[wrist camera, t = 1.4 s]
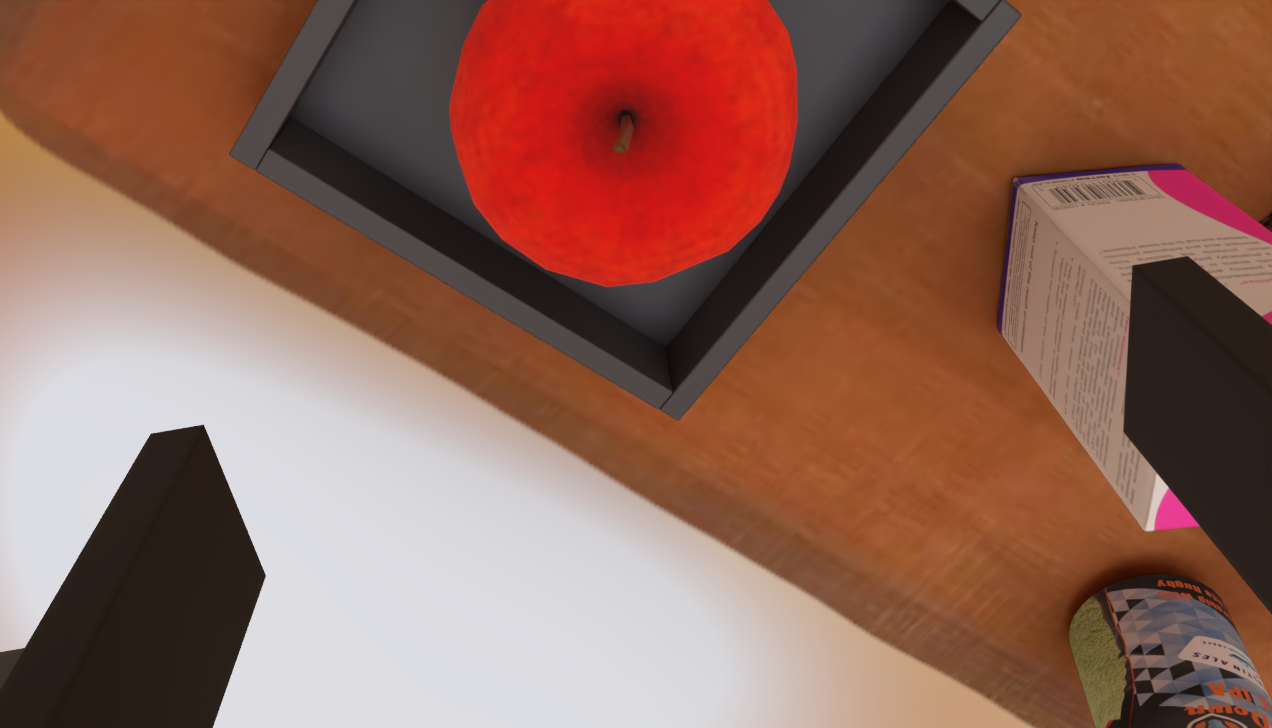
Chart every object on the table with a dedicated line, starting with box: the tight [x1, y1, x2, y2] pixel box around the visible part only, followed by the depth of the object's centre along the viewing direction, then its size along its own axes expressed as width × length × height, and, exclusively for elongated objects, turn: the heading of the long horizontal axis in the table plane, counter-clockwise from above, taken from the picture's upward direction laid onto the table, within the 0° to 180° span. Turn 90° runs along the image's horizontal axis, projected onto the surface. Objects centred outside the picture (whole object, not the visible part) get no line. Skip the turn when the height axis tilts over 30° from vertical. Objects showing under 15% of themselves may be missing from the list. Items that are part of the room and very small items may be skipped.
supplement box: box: [997, 164, 1272, 531], centre depth 33 cm, size 6×6×12 cm
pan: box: [229, 0, 1021, 420], centre depth 33 cm, size 16×16×4 cm
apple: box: [449, 0, 798, 287], centre depth 30 cm, size 9×9×8 cm
